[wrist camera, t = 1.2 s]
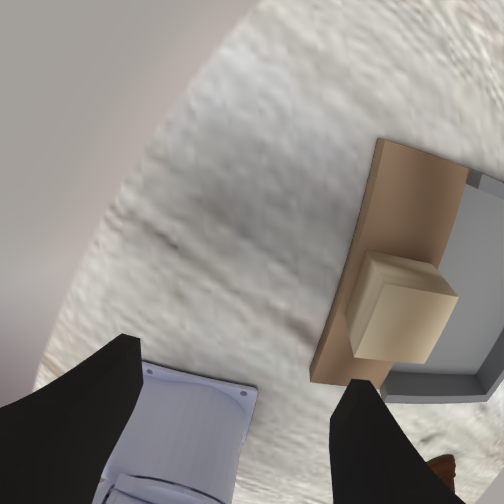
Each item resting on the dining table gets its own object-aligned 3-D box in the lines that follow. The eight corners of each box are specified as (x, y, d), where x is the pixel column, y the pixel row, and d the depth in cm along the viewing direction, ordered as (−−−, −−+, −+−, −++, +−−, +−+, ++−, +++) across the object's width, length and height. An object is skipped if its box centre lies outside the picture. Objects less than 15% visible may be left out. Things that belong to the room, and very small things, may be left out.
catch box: (376, 376, 20) (382, 402, 18) (457, 164, 14) (482, 173, 12) (476, 380, 20) (486, 401, 18) (556, 210, 14) (579, 222, 12)
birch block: (344, 315, 17) (353, 357, 14) (366, 250, 15) (384, 283, 12) (406, 324, 17) (424, 363, 14) (431, 263, 15) (459, 297, 12)
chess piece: (452, 449, 24) (473, 521, 15) (454, 464, 26) (471, 528, 17) (415, 465, 26) (429, 539, 17) (420, 478, 27) (432, 544, 18)
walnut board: (309, 368, 20) (310, 381, 19) (377, 138, 14) (385, 140, 13) (376, 376, 20) (379, 388, 19) (457, 164, 14) (469, 168, 13)
